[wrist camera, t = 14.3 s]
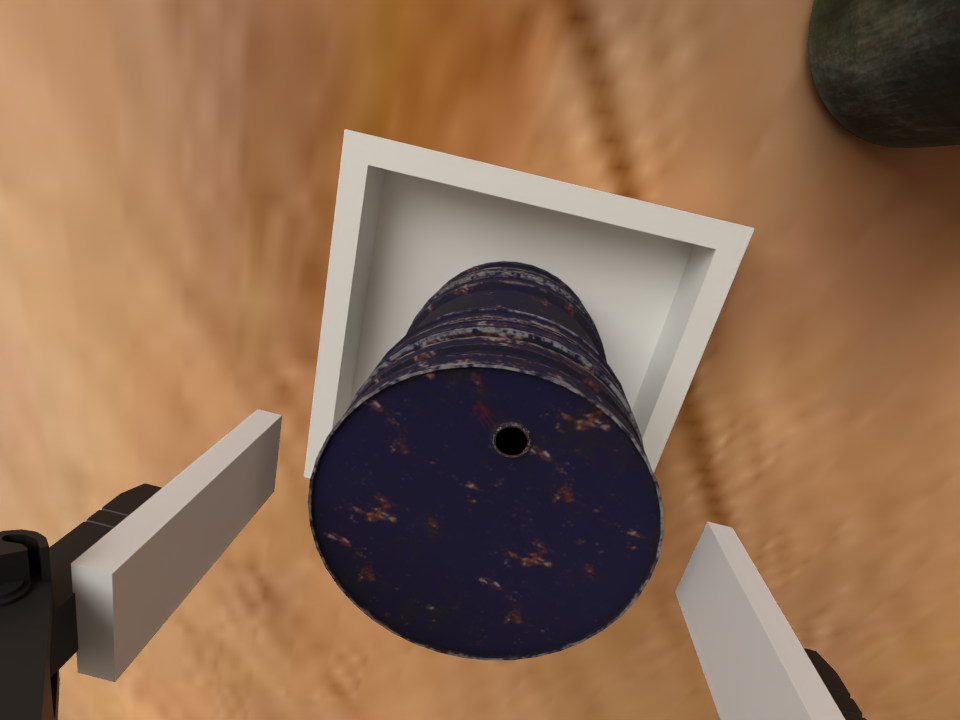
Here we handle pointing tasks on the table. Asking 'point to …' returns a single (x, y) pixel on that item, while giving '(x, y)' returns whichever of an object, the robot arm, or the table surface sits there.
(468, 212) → the tray
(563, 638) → the dark blue canister
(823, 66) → the mug
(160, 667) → the table surface
